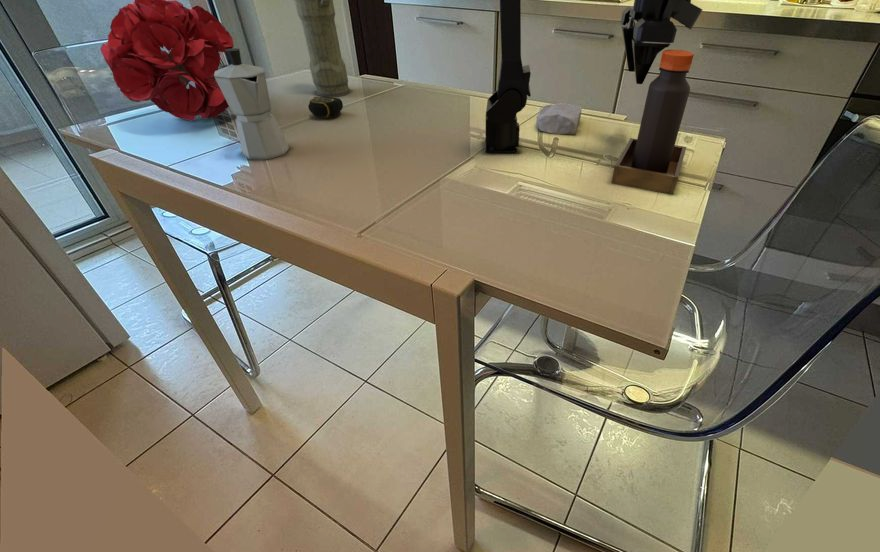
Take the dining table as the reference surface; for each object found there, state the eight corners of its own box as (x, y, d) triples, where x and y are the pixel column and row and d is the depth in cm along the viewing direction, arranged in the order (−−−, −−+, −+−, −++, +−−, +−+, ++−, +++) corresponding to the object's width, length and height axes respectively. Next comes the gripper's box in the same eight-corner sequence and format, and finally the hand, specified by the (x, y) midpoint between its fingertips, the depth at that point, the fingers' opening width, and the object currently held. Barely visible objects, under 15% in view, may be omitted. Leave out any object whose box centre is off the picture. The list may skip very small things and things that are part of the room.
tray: (611, 182, 81) (614, 165, 79) (627, 153, 92) (630, 137, 90) (673, 194, 78) (678, 177, 76) (681, 162, 89) (686, 146, 87)
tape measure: (345, 111, 108) (342, 95, 106) (336, 121, 103) (332, 104, 100) (318, 110, 108) (314, 94, 106) (307, 120, 103) (303, 102, 101)
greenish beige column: (334, 100, 115) (296, -81, 92) (305, 91, 120) (262, -82, 97) (360, 92, 120) (330, -80, 97) (332, 84, 125) (297, -81, 102)
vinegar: (642, 161, 88) (670, 46, 75) (673, 171, 85) (707, 53, 72) (623, 170, 85) (648, 51, 72) (654, 182, 81) (687, 59, 68)
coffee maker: (302, 154, 88) (273, 51, 76) (259, 167, 83) (220, 58, 71) (267, 134, 95) (236, 38, 84) (225, 145, 91) (186, 44, 79)
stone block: (535, 139, 101) (579, 134, 98) (533, 117, 98) (578, 112, 96) (542, 124, 110) (583, 119, 107) (540, 104, 107) (582, 98, 105)
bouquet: (200, 126, 117) (76, 92, 88) (205, 28, 112) (74, -41, 83) (273, 141, 114) (169, 112, 85) (282, 42, 109) (174, -26, 80)
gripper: (724, -19, 66) (690, 93, 76) (691, -29, 80) (667, 67, 90) (649, -23, 66) (626, 90, 77) (629, -32, 80) (612, 64, 91)
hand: (635, 77), depth 84 cm, fingers open, 9 cm apart
